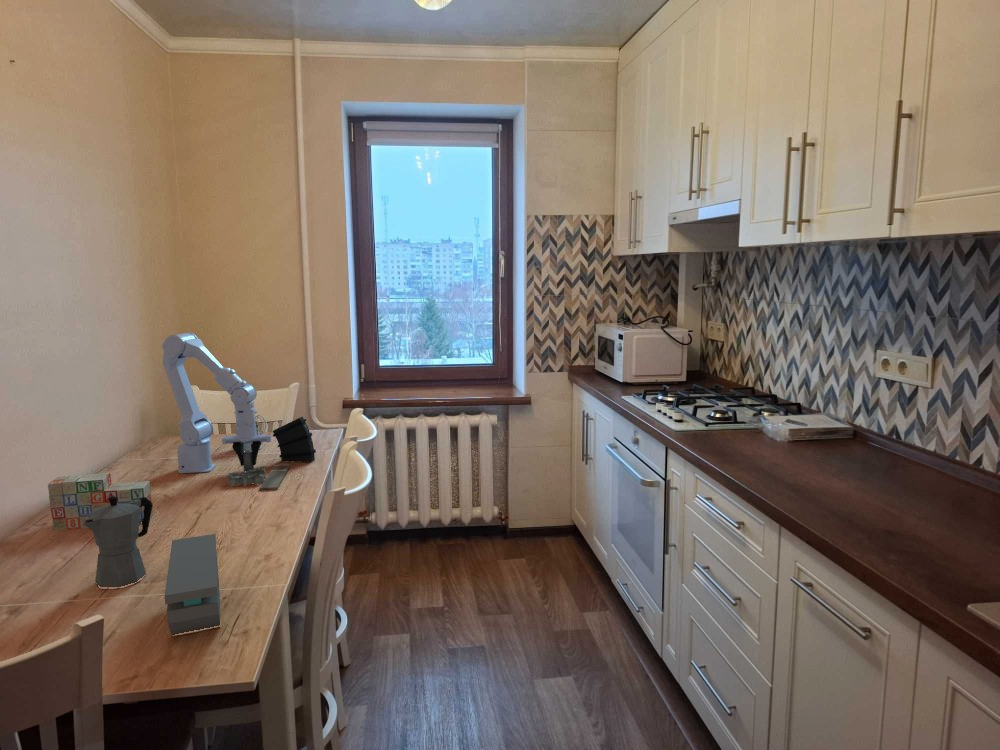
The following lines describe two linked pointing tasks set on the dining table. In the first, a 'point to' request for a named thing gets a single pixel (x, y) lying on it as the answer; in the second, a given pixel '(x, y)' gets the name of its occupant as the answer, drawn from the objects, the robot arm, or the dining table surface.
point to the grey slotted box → (193, 585)
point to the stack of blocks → (89, 497)
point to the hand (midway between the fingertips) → (248, 464)
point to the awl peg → (248, 460)
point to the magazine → (295, 441)
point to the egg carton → (247, 477)
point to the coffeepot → (119, 541)
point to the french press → (248, 445)
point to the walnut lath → (275, 477)
